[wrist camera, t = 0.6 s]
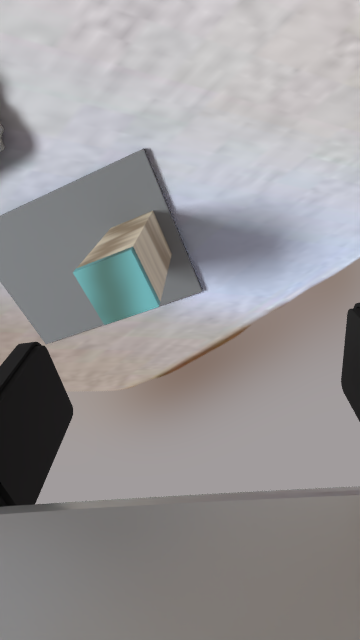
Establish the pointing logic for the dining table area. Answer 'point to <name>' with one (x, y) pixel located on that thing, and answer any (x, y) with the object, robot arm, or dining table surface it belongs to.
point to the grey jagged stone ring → (0, 131)
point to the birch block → (126, 269)
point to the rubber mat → (82, 244)
